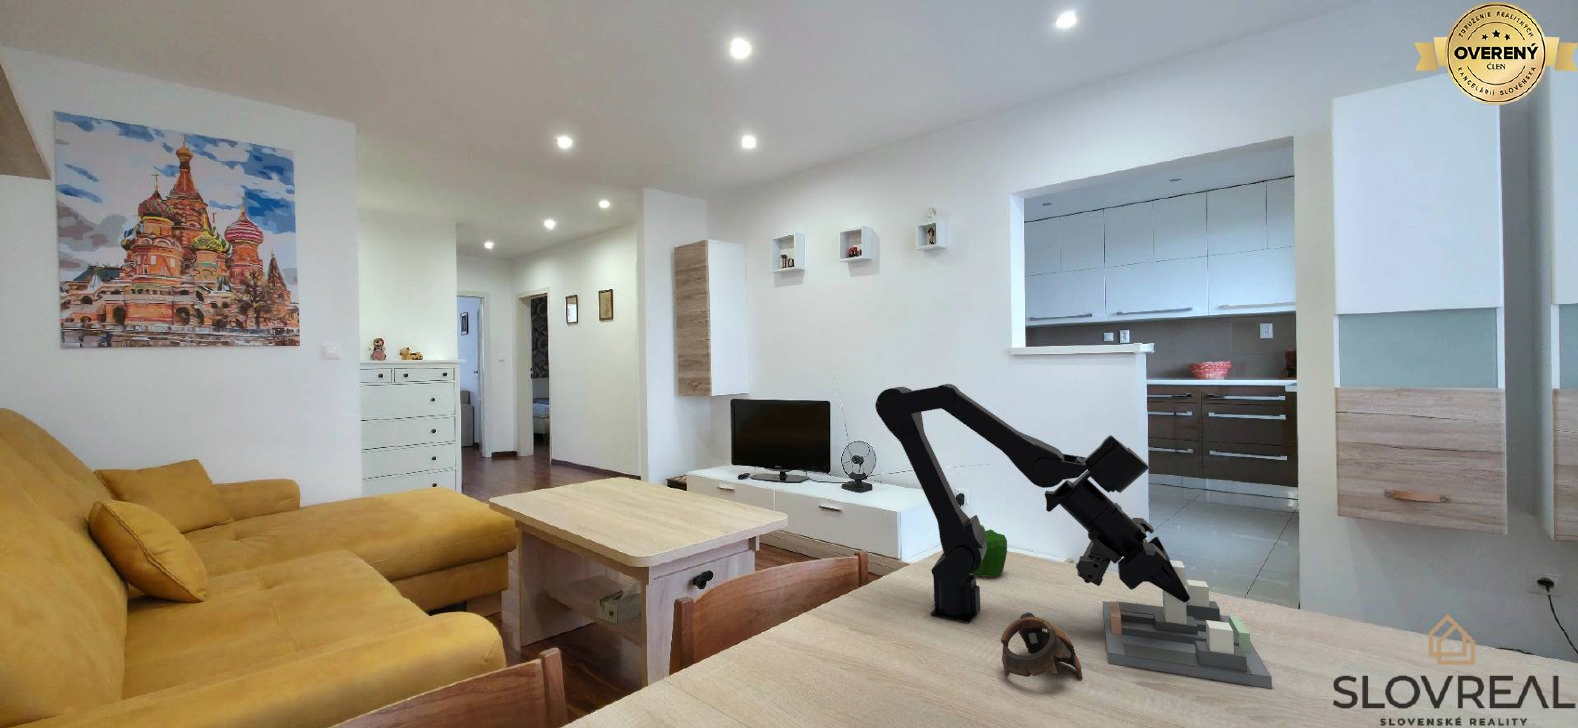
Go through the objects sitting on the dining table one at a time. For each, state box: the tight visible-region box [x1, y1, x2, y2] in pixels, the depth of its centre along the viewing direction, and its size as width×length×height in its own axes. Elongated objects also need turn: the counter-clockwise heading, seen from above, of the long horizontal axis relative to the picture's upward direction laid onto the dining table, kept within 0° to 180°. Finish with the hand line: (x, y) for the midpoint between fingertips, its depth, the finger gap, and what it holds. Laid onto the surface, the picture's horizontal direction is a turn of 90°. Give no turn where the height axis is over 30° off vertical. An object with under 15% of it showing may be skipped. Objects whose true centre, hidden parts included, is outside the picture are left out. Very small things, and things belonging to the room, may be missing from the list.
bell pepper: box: [970, 523, 1008, 578], centre depth 120 cm, size 8×8×10 cm
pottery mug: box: [1000, 611, 1084, 680], centre depth 83 cm, size 12×10×8 cm
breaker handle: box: [1153, 559, 1198, 635], centre depth 88 cm, size 5×4×10 cm
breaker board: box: [1102, 579, 1273, 689], centre depth 88 cm, size 18×20×6 cm
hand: (1185, 595), depth 88 cm, fingers closed on breaker handle, 3 cm apart
